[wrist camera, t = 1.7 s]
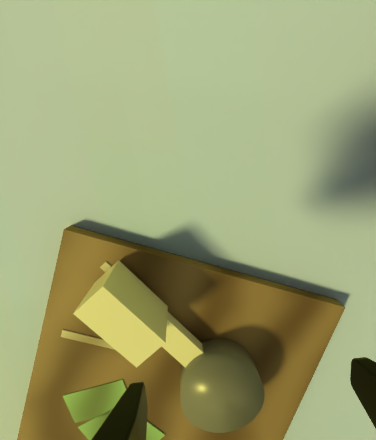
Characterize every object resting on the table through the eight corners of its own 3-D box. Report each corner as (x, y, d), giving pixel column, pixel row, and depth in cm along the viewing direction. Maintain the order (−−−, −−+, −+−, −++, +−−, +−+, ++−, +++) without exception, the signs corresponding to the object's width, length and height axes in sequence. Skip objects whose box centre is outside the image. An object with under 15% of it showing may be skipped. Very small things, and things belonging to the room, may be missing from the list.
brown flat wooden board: (335, 299, 21) (346, 308, 20) (251, 483, 25) (255, 500, 24) (70, 225, 19) (63, 229, 18) (22, 439, 23) (13, 456, 21)
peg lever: (269, 372, 21) (292, 421, 17) (214, 415, 21) (223, 473, 17) (137, 242, 18) (125, 265, 14) (78, 297, 19) (51, 333, 15)
